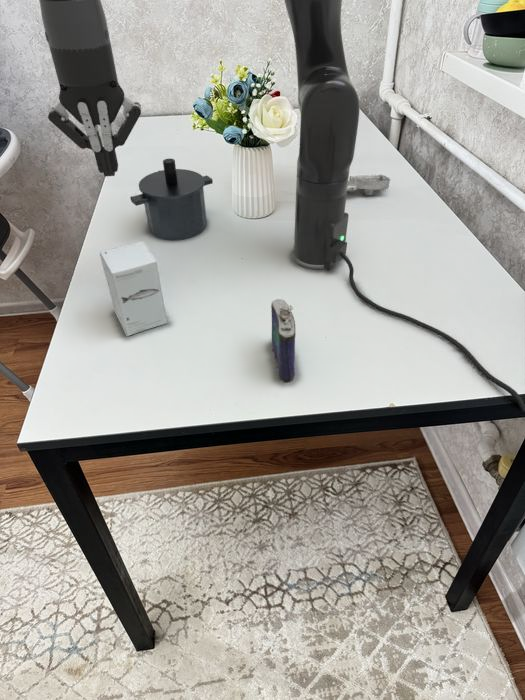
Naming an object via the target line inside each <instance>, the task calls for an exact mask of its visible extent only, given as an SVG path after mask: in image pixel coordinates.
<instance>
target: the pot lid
mask: <svg viewBox="0 0 525 700" xmlns="http://www.w3.org/2000/svg"><path fill="white" fill-rule="evenodd" d="M162 167H163V170H158V171H154V172H152V173H149V174H147V175H145V176H144V177H142V178H141V179H140V180H139V182H138V189H139V191H140V192H141V194H142V193H143V194H144V195H146V196H149V197H152V198H157V199H176V198H182V197H186V196H190V195H192V194H195V193H197V192H198V191H200V190H201V189H202V188H203V189H204V187H205V186H204V184H205V180H204V178H203V175H202V174H201V173H199V172H197V171H194V170H190V169H183V168H177V167H176V160H175V159H174V158H165V159H163V160H162Z"/></svg>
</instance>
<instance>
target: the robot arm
mask: <svg viewBox="0 0 525 700" xmlns="http://www.w3.org/2000/svg"><path fill="white" fill-rule="evenodd" d="M38 1H39V6H40V7H39V8H40V14H41V21H42V25H43V29H44V37H45V40H46V42H47V43H48V47H49V51H50V55H51V59H52V62H53V65H54V69H55V70H54V71H55V73H56V77H57V82H58V85H59V93H58V100H59V102H58V103H57V104H56V105H55V106H54V107H52V108H51V109H50V110H49V112H48V115H47V118H48V120H49V121H50V123H52V124H53V125H54V126H55V127H56V128H57V129H58V130H59V131H61V132H62V133H63V134H64V135H65V136H66V137H67V138H69V139H70V140H71V142H73V143H74V144H75V145H76V146H77V147H78V148H80V149H82V150H84V149H89V150H92V152H93V154H94V157H95V162H96V166H97V170H98V172H99V173H100V174H103V175H104V176H103V177H105V178H106V177H115V175H116V173H117V172H118V171H119V161H118V157H117V151H116V148H118V147H121V146H122V147H123V146H124V145H125V143H126V142H127V140H128V139H129V136H130V134H131V132H132V131H133V130H134V127H135V126H136V124H137V122H138V121H139V119H140V116H141V114H142V106H141V104H140V102H138V101H135V102H133V101H132V100H131V99H129V98H128V97H126V95H125V92H124V90H123V88H122V87H121V85H120V83H119V80H118V79H119V78H118V75H117V68H116V63H115V58H114V54H113V48H112V43H111V38H110V32H109V26H108V23H107V18H106V13H105V9H104V7H103V3H102V0H38ZM283 2H284V5H285V8H286V12H287V15H288V19H289V23H290V26H291V31H292V34H293V40H294V48H295V59H296V73H297V74H296V75H297V102H298V103H297V104H298V109H299V113H300V125H299V127H300V128H299V148H298V149H299V150H298V156H297V160H296V181H295V182H296V183H295V185H296V186H295V207H294V209H295V211H294V233H293V234H294V237H293V252H292V253H293V254H292V257H293V260H294V261H295V263H296V264H298V265H300V266H301V267H304V268H306V269H310V270H326V271H330V270H332V269H333V268H334V267H335V266H336V265H337V264H338V263H340V262H341V260H344V261H345V263H346V264H347V266H348V269H349V273H348V280H349V283H350V286H351V289H352V290H353V291H354V293H355V295H356V296H357V297H358V298H359V299H360V300H362V301H363V302H364V303H366V304H368V305H369V306H370V307H372V308H374V309H375V310H377V311H379V312H382V313H384V314H387V315H389V316H393V317H395V318H399V319H401V320H404V321H407V322H409V323H412V324H414V325H416V326H418V327H420V328H423V329H425V330H427V331H429V332H432V333H433V334H436V335H438V336H439V337H440V338H443V339H445V340H446V341H448V342H449V343H451V344H452V345H454V346H455V347H456V348H457V349H458V350H460V351H461V352H462V353H463V355H464V356H466V357H467V358H468V360H469V361H470V362H471V364H473V366H474V367H475V368H476V370H478V371H479V372H480V373H481V374H482V376H484V377H485V378H486V379H487V380H488V381H490V382H491V383H493V384H494V385H496V386H498V387H500V388H501V389H503V390H504V391H505V392H507V393H508V394H509V395H511V396H512V397H513V398H514V401H516V403H517V405H518V408H519V409H520V410H521V411H522V412H523V413H525V402H524V400H523V398H522V397H521V395H520V394H519V393H518V392H517V391H516V390H515V389H514V388H512V386H510V385H508V384H506V383H505V382H503V381H502V380H500V379H498V378H496V377H495V376H493V375H492V374H491V373H490V372H489V371H487V369H486V368H485V367H484V366H483V365H482V364H481V363H480V362H479V361H478V360H477V359H476V357H475V356H474V355H473V354H472V353H471V352H470V351H469V350H468V349H467V348H466V347H465V346H464V345H463V344H462V343H460V342H459V341H458V340H457V339H455V338H454V337H452V336H450V335H449V334H447V333H445V332H443V331H442V330H440V329H438V328H437V327H433V326H432V325H429V324H427V323H425V322H423V321H420V320H418V319H416V318H413V317H412V316H409V315H407V314H403V313H401V312H399V311H394V310H392V309H388V308H386V307H383V306H382V305H379V304H377V303H375V302H374V301H372V300H371V299H369V298H368V297H366V296H365V295H364V294H363V293H361V292H360V290H359V289H358V287H357V286H356V282H355V280H354V274H355V273H354V272H355V271H354V269H355V268H354V266H353V263H352V261H351V260H350V259H349V257H348V256H347V255H346V254H347V247H348V242H347V240H346V239H347V234H348V224H349V213H348V212H346V203H347V195H348V191H347V187H348V181H349V179H350V178H349V177H350V169H351V165H352V163H353V160H354V156H355V150H356V145H357V144H356V143H357V137H358V128H359V121H360V107H361V106H360V105H361V104H360V98H359V94H358V91H357V90H356V88H355V86H354V85H353V82H352V81H351V79H350V75H349V70H348V67H347V61H346V54H345V49H344V44H343V43H344V42H343V35H342V5H343V4H342V3H343V0H283ZM122 107H123V113H122V114H123V116H124V120H123V121H122V124H121V125H120V127H119V129H118V131H117V132H116V133H115V134H114V133H113V124H112V123H114V122H115V121H116V118H117V116H118V114H119V112H120V110H121V108H122ZM70 115H72V117H73V118H74V119H75V120H76V121H77V122H78V123H79V124H81V125H83V127H84V130H85V132H84V131H83V130H82V129H80V127H78V126H77V125H76V124H75V123H74V122H73V121H72V120H71V119H70ZM98 126H100V131H101V132H100V131H99V127H98ZM100 133H101V135H100ZM101 136H102V138H101Z"/></svg>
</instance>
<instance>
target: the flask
mask: <svg viewBox="0 0 525 700" xmlns="http://www.w3.org/2000/svg"><path fill="white" fill-rule="evenodd" d="M270 308H271V310H270V312H271V351H272V352H273V358H274V359H273V360H274V362H275V364H276V365H277V366H276V369H278V371H277V375H278V379H279V380H280V381H281V382H283V383H291V382H293V381H294V379H295V375H296V372H295V370H296V368H295V359H296V358H295V355H296V348H295V347H296V321H295V317H294V314H293V312H292V310H293V308H294V307H293V306H292V304H290V305H289V304H288V303H287V301H286V300H285V299H282V298H277V299H274V300H272V301H271V305H270Z"/></svg>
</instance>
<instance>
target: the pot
mask: <svg viewBox="0 0 525 700" xmlns="http://www.w3.org/2000/svg"><path fill="white" fill-rule="evenodd" d="M202 176H203V175H202ZM203 178H204V180H205V184H204V187H205V186H208V185H212V184H214V183H213V181H214V180H213V178H212V177H210V176H209V175H207V174H205V175H204V176H203ZM204 187H203V188H202V189H201V190H200V191H198V192H197V193H195V194H192V195H190V196H186V197H182V198H176V199H157V198H152V197H149V196H146V195H144V194H143V193H142V192H141V193H140V194H137V195H133V196H130V201H131V203H132V204H133V205H134V206H135V207H137V206H141V205H144V209H145V216H146V220H147V221H146V222H147V226H148V230H149V233H150V234H151V235H152V236H154V237H156V238H158V239H160V240H165V241H183V240H188V239H191V238H193V237H196V236H198V235H200V234H202V233H203V232H204V230H205V229H206V227H207V213H206V205H205V204H206V201H205V192H204Z"/></svg>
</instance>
